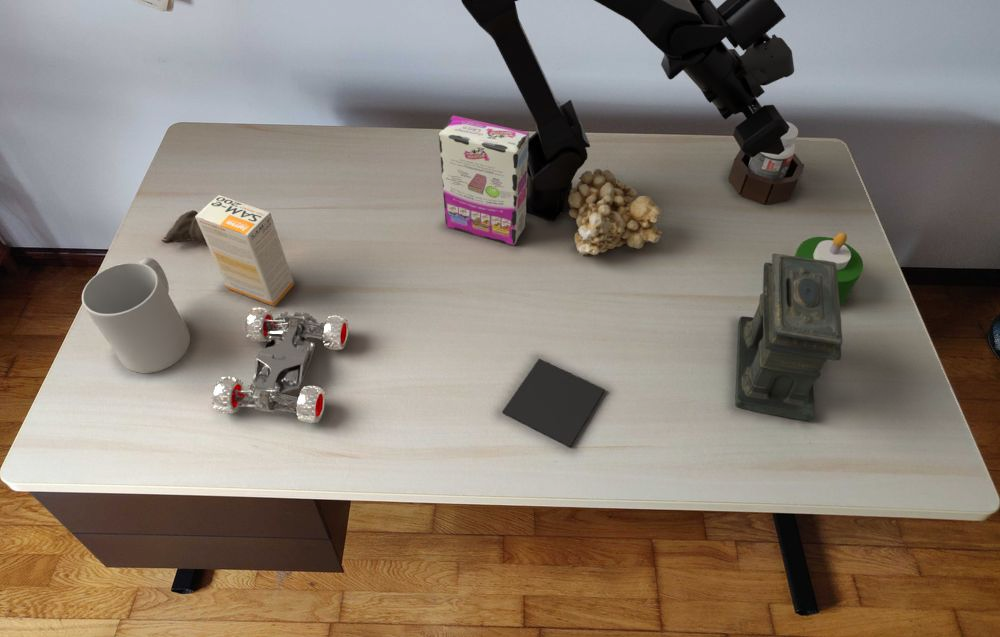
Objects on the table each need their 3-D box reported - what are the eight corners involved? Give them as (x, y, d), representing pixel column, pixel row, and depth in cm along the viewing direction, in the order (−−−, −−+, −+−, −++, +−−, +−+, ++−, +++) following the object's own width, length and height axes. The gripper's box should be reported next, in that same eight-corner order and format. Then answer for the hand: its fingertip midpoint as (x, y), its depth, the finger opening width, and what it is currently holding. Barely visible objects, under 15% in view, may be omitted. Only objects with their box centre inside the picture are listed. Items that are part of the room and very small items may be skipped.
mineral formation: (575, 270, 97) (545, 196, 105) (660, 264, 101) (624, 193, 109) (592, 228, 91) (558, 154, 99) (681, 224, 95) (641, 152, 103)
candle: (771, 282, 96) (795, 228, 88) (808, 256, 99) (835, 202, 91) (822, 319, 92) (852, 266, 84) (859, 291, 95) (891, 237, 87)
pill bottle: (781, 197, 107) (803, 143, 100) (743, 192, 108) (762, 138, 100) (779, 174, 111) (800, 120, 103) (743, 169, 112) (761, 115, 104)
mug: (179, 374, 85) (144, 317, 77) (109, 373, 85) (67, 315, 77) (207, 301, 93) (178, 241, 85) (143, 300, 93) (108, 240, 85)
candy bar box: (526, 225, 103) (531, 131, 90) (514, 247, 100) (518, 153, 87) (457, 206, 106) (452, 112, 93) (443, 227, 102) (437, 133, 90)
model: (733, 322, 91) (768, 239, 80) (805, 334, 90) (851, 251, 79) (734, 410, 83) (773, 331, 71) (814, 424, 81) (866, 345, 70)
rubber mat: (502, 413, 82) (502, 411, 82) (538, 360, 87) (539, 358, 87) (570, 448, 79) (570, 446, 79) (604, 391, 84) (604, 389, 84)
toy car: (318, 431, 80) (309, 407, 76) (218, 419, 81) (204, 395, 77) (352, 330, 90) (345, 304, 86) (262, 321, 91) (251, 295, 87)
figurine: (162, 252, 100) (239, 258, 98) (147, 230, 96) (226, 235, 94) (181, 221, 104) (256, 226, 102) (168, 198, 100) (244, 203, 98)
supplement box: (296, 284, 95) (273, 211, 85) (274, 308, 92) (248, 235, 82) (247, 265, 97) (218, 192, 87) (224, 288, 94) (192, 215, 84)
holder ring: (721, 189, 108) (728, 169, 105) (741, 156, 114) (748, 135, 111) (783, 211, 105) (792, 191, 102) (801, 176, 111) (810, 155, 108)
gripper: (798, 64, 83) (849, 134, 92) (741, -9, 95) (792, 60, 104) (718, 126, 88) (775, 186, 98) (674, 50, 100) (728, 110, 109)
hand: (768, 132), depth 102 cm, fingers open, 9 cm apart
